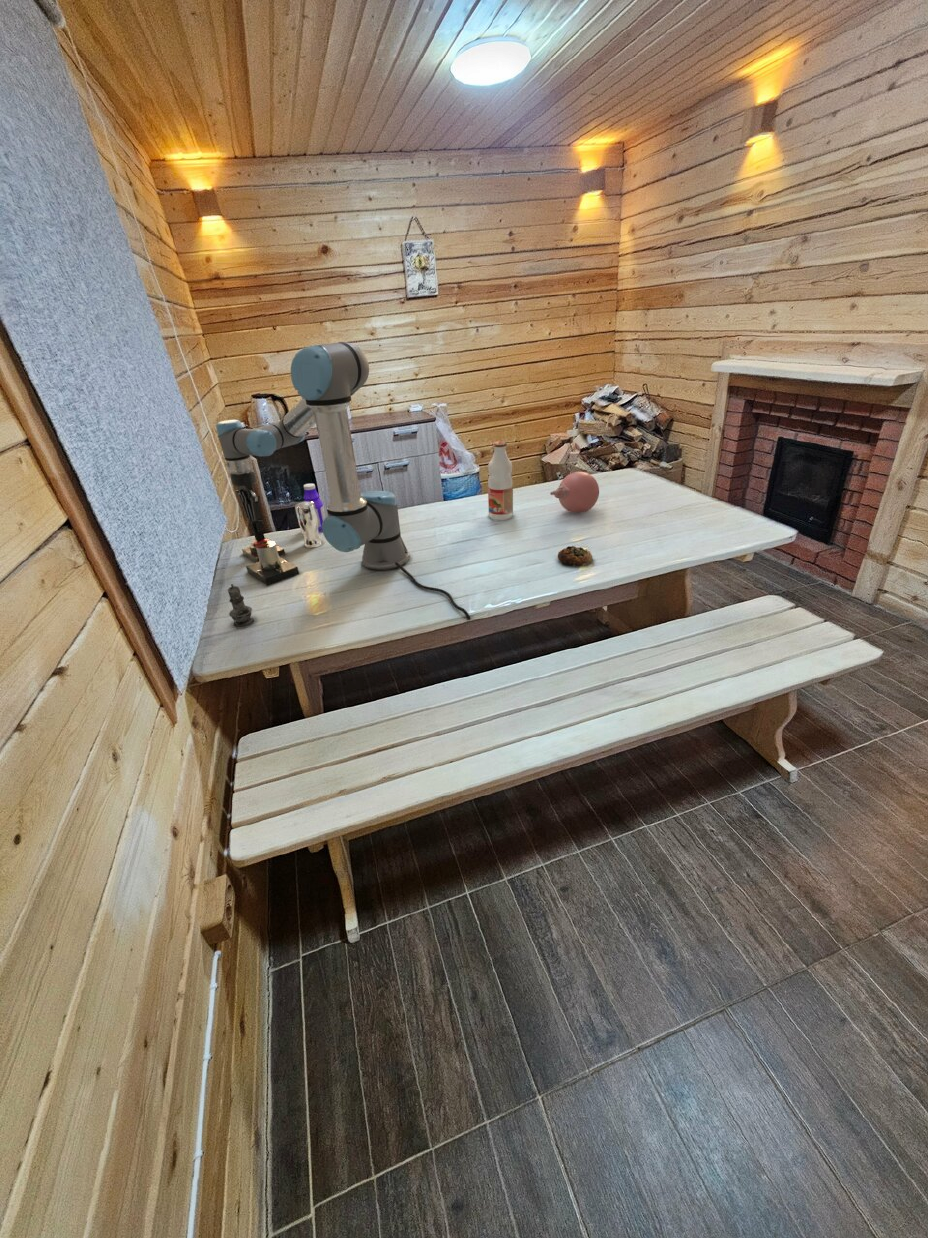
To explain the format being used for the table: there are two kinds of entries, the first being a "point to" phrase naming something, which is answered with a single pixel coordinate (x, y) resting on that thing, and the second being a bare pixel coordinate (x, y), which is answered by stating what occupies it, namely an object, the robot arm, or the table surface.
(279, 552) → the box
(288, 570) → the timer panel
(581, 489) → the balloon
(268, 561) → the timer dial
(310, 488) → the bottle
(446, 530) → the table surface
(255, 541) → the button
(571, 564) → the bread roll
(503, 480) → the fruit juice
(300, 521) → the beer glass
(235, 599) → the grey ringed upright piece
